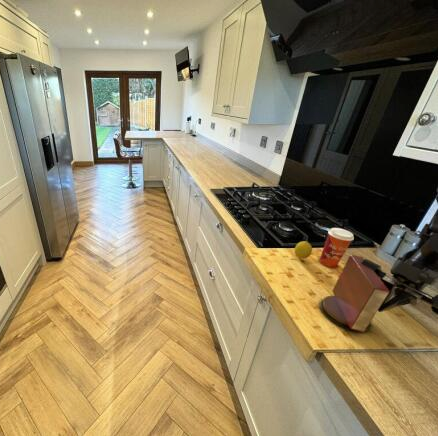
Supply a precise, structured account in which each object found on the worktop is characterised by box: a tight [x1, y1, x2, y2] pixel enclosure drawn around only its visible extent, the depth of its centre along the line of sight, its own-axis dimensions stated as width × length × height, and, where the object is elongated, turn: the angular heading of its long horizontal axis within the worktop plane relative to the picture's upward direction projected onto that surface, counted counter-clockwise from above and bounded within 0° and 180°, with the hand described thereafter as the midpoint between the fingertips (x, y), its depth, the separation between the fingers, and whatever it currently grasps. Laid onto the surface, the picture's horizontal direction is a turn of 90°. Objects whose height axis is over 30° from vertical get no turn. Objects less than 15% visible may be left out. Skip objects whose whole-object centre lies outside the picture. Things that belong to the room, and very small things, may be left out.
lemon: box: [294, 240, 313, 260], centre depth 92 cm, size 6×6×8 cm
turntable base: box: [319, 299, 371, 333], centre depth 69 cm, size 12×12×1 cm
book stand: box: [322, 254, 390, 333], centre depth 65 cm, size 11×15×15 cm
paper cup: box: [319, 227, 355, 269], centre depth 89 cm, size 8×8×14 cm
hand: (378, 310), depth 60 cm, fingers closed
